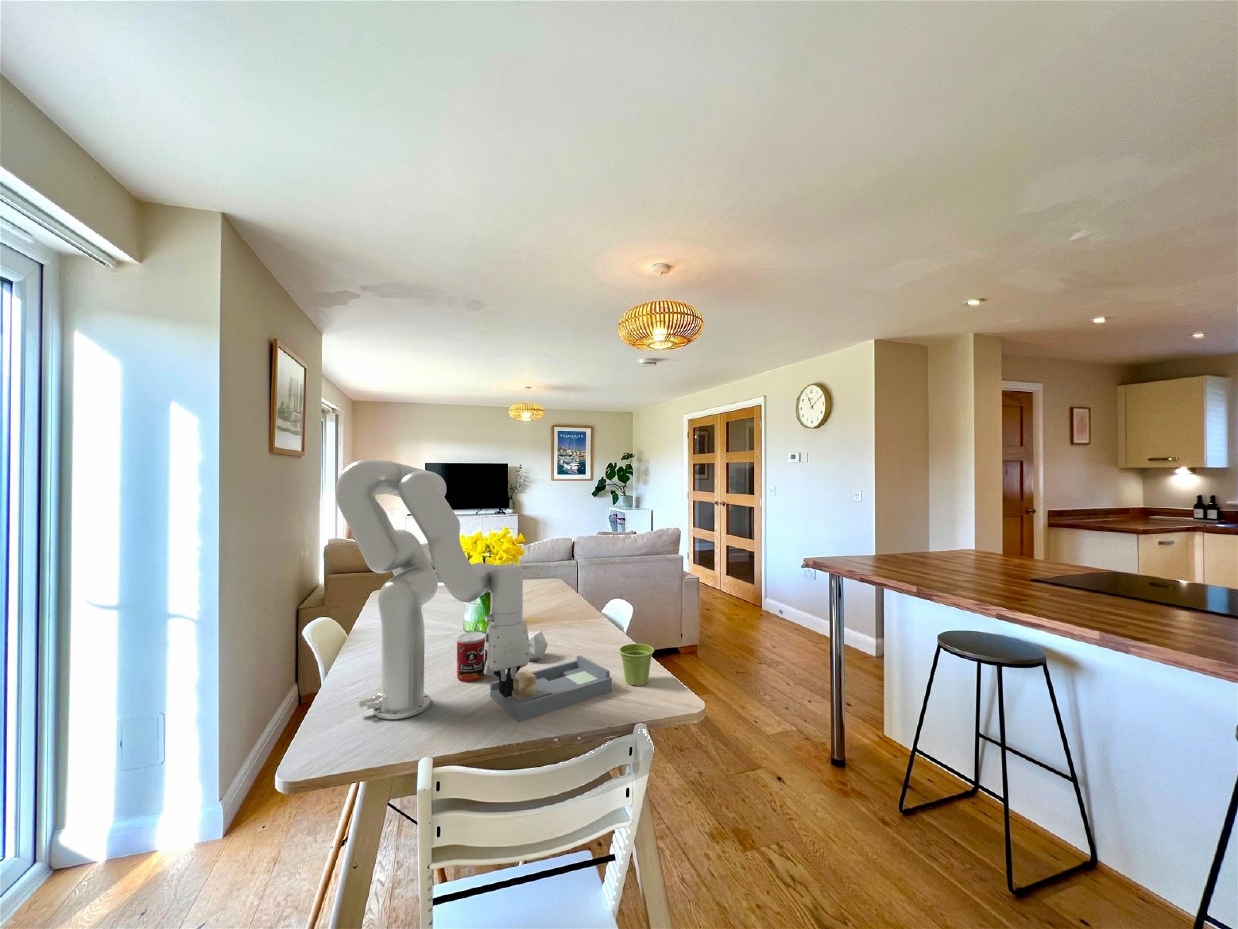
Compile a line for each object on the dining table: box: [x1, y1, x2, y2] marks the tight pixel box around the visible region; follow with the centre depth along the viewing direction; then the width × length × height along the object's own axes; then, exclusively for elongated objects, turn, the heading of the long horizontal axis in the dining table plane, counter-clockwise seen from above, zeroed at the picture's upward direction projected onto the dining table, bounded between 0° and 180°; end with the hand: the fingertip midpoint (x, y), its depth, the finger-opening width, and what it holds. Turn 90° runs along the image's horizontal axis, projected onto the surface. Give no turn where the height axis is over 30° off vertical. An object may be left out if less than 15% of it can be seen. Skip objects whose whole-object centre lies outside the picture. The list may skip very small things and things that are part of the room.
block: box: [512, 670, 536, 700], centre depth 122 cm, size 4×4×4 cm
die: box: [528, 630, 549, 662], centre depth 152 cm, size 8×9×10 cm
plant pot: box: [618, 643, 655, 687], centre depth 135 cm, size 9×9×9 cm
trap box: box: [489, 654, 613, 723], centre depth 127 cm, size 26×16×5 cm, turn 128°
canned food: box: [456, 631, 486, 683], centre depth 138 cm, size 8×8×11 cm
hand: (506, 695), depth 119 cm, fingers closed
